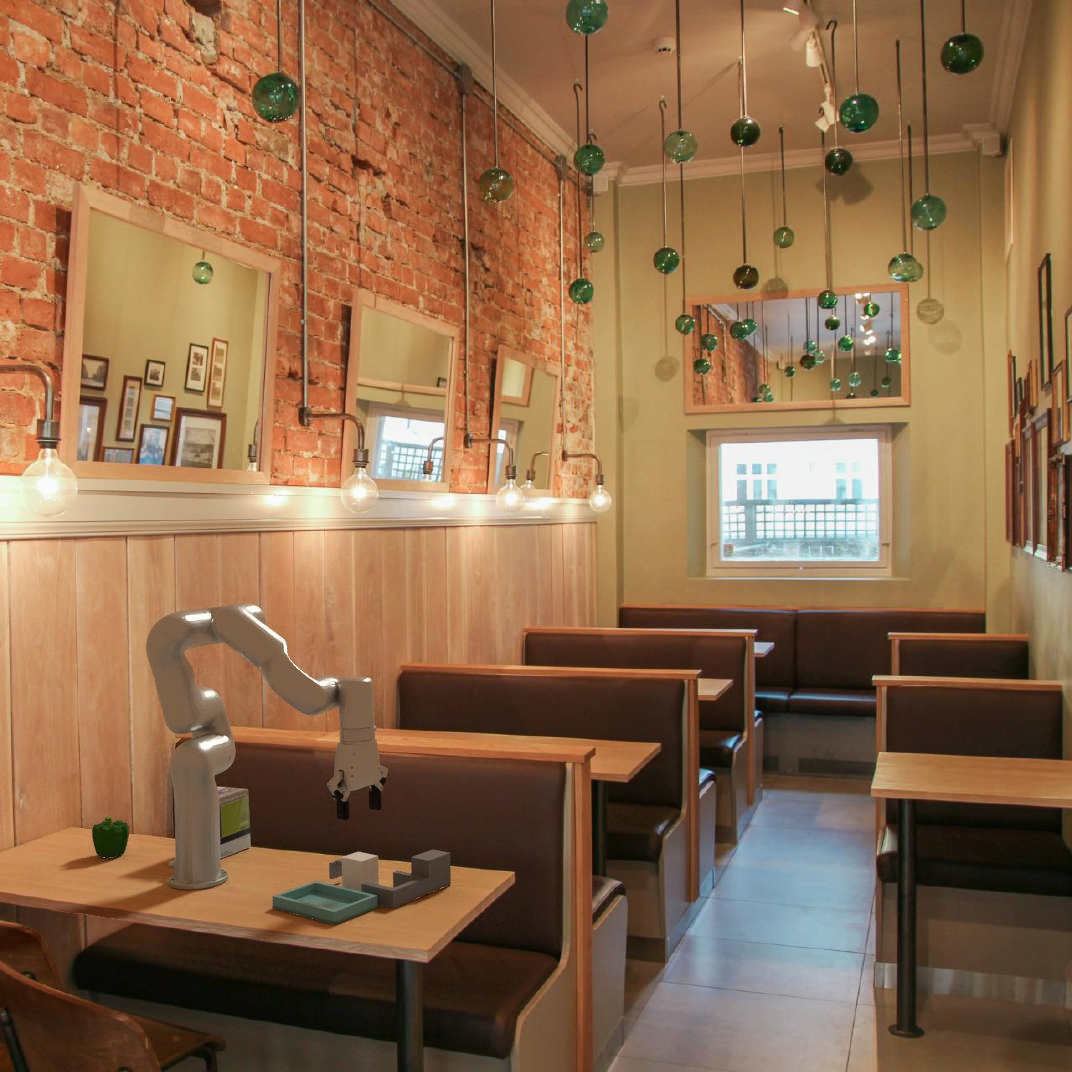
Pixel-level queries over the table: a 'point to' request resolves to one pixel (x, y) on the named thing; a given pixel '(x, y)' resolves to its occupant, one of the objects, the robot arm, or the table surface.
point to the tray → (325, 902)
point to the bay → (414, 879)
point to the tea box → (234, 820)
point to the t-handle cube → (355, 870)
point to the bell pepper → (110, 837)
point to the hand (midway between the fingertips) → (359, 814)
